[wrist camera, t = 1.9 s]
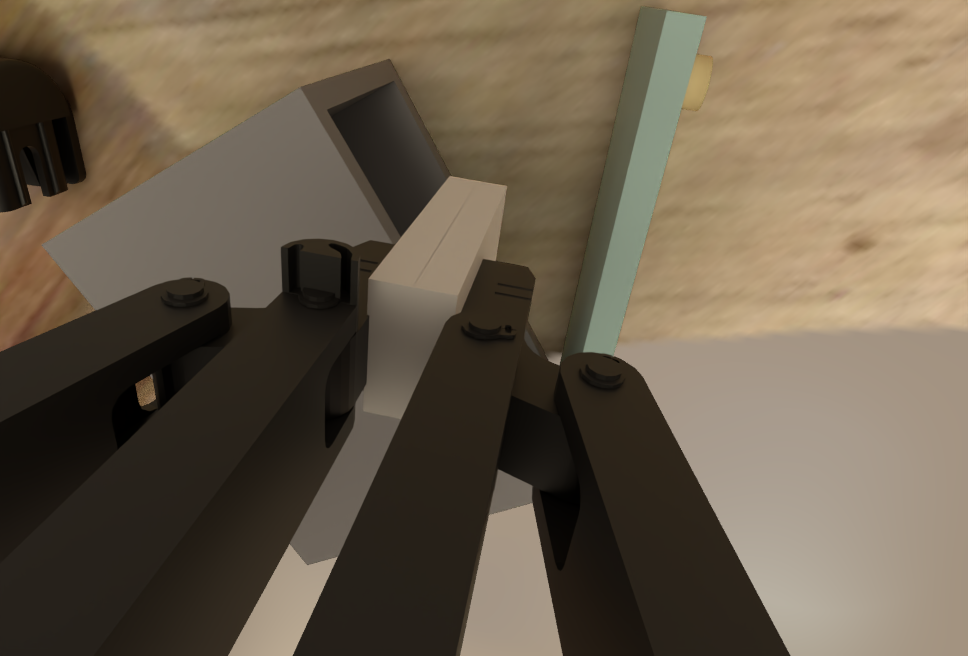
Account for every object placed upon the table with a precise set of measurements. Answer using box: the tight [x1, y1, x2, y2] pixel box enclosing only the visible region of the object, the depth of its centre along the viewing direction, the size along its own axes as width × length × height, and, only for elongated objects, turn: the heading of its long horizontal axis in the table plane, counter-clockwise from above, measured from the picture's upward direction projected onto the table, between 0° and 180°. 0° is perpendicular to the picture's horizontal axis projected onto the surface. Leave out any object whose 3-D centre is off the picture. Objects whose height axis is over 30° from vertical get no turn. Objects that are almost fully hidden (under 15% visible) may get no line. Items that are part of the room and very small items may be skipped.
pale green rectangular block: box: [560, 6, 713, 364], centre depth 28 cm, size 3×20×10 cm, turn 173°
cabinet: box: [42, 59, 548, 565], centre depth 32 cm, size 14×20×11 cm
